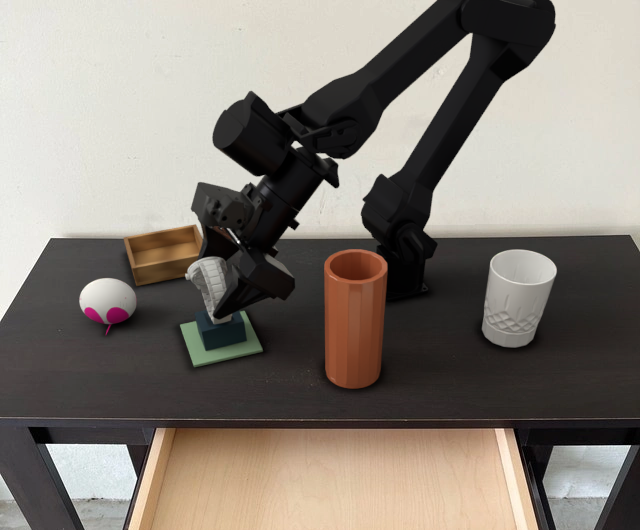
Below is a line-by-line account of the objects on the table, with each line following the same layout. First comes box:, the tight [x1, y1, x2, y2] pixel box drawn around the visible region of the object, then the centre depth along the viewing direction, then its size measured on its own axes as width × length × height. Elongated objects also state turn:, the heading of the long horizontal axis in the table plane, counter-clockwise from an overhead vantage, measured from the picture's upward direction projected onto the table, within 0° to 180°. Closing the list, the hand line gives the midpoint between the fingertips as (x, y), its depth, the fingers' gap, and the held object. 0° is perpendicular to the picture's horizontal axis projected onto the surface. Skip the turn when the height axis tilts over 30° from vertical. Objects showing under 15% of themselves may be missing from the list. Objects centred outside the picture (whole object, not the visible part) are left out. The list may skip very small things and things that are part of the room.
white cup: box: [481, 249, 558, 348], centre depth 83 cm, size 8×8×10 cm
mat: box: [179, 310, 264, 368], centre depth 87 cm, size 9×9×1 cm
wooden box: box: [123, 224, 203, 287], centre depth 99 cm, size 11×9×3 cm
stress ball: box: [77, 277, 138, 335], centre depth 89 cm, size 8×8×7 cm
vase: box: [323, 248, 387, 390], centre depth 77 cm, size 7×7×15 cm
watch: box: [185, 257, 247, 351], centre depth 83 cm, size 6×8×11 cm
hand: (204, 299), depth 82 cm, fingers closed on watch, 8 cm apart
